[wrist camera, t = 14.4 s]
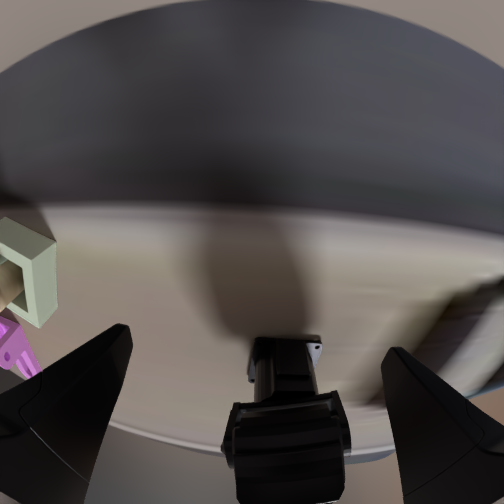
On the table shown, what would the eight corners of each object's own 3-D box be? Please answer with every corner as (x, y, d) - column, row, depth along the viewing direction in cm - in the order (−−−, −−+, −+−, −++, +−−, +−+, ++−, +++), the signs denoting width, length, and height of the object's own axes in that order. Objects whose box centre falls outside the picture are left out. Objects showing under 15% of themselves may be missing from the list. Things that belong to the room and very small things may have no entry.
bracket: (-1, 314, 27) (-26, 342, 20) (21, 324, 27) (-6, 355, 20) (28, 373, 32) (10, 399, 26) (49, 383, 32) (32, 412, 26)
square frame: (56, 241, 21) (31, 260, 18) (58, 307, 25) (39, 328, 21) (5, 216, 20) (-19, 230, 17) (10, 279, 24) (-9, 296, 20)
